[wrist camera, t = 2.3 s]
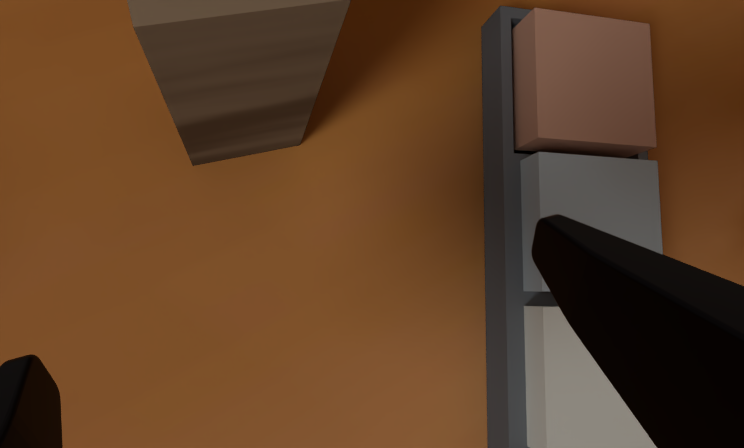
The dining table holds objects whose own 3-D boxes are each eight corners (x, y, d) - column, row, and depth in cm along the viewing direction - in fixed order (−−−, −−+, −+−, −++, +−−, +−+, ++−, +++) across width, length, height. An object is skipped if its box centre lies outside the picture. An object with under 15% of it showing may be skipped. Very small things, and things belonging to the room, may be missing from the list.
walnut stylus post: (299, 145, 23) (358, -22, 11) (193, 165, 22) (124, 6, 10) (275, 46, 24) (305, -224, 11) (168, 62, 23) (72, -219, 10)
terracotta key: (625, 158, 25) (656, 147, 23) (514, 149, 24) (538, 137, 22) (619, 43, 26) (649, 23, 24) (511, 29, 25) (534, 7, 23)
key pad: (632, 445, 25) (692, 469, 22) (487, 453, 24) (528, 480, 20) (613, 43, 28) (664, 9, 24) (481, 26, 26) (516, -13, 23)
